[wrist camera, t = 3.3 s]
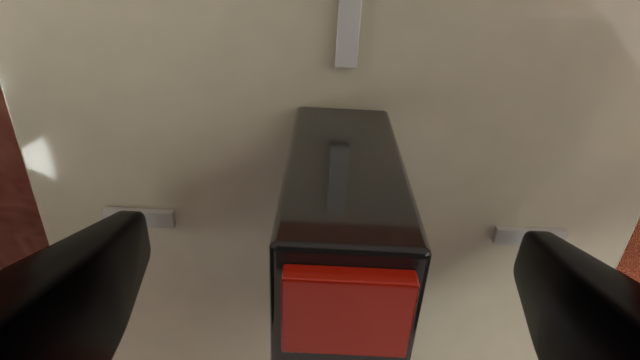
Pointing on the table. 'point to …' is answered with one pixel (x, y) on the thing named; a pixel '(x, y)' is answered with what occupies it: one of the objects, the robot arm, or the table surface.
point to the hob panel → (327, 92)
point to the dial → (345, 243)
